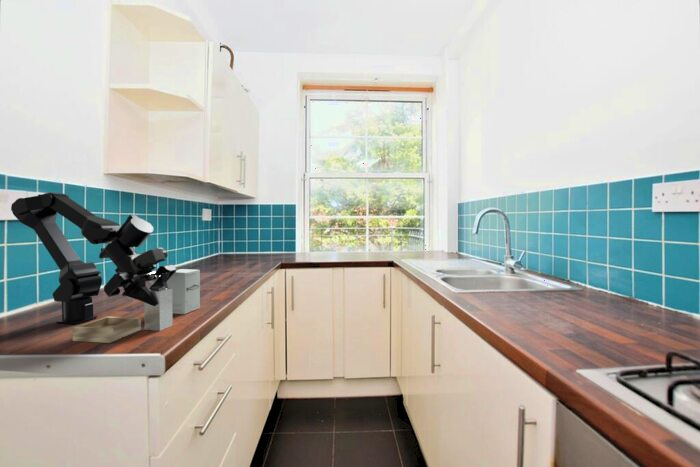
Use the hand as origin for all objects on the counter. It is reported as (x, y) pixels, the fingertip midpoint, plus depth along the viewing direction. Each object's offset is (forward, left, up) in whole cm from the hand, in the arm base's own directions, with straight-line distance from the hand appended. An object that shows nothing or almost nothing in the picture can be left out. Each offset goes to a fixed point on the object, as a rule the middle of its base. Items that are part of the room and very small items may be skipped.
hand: (163, 302), depth 86 cm
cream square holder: (-9, -7, -7) cm, 13 cm away
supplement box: (-5, +16, -7) cm, 18 cm away
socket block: (-1, 0, -7) cm, 7 cm away
